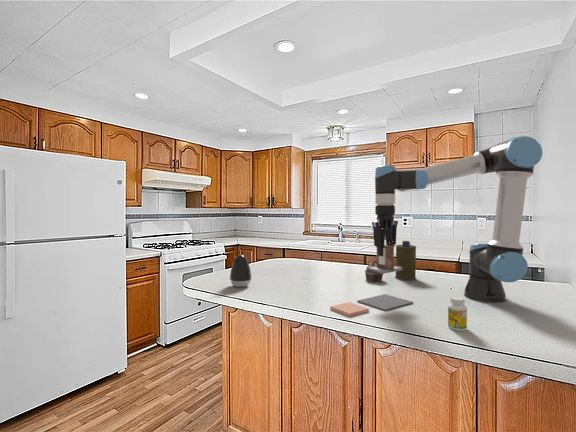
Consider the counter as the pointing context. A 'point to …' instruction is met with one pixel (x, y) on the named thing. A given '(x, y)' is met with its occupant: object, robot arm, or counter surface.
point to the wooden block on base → (389, 262)
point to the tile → (349, 309)
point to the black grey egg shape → (240, 272)
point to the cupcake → (373, 274)
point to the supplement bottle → (457, 314)
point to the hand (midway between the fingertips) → (385, 263)
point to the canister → (406, 261)
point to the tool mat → (385, 302)
